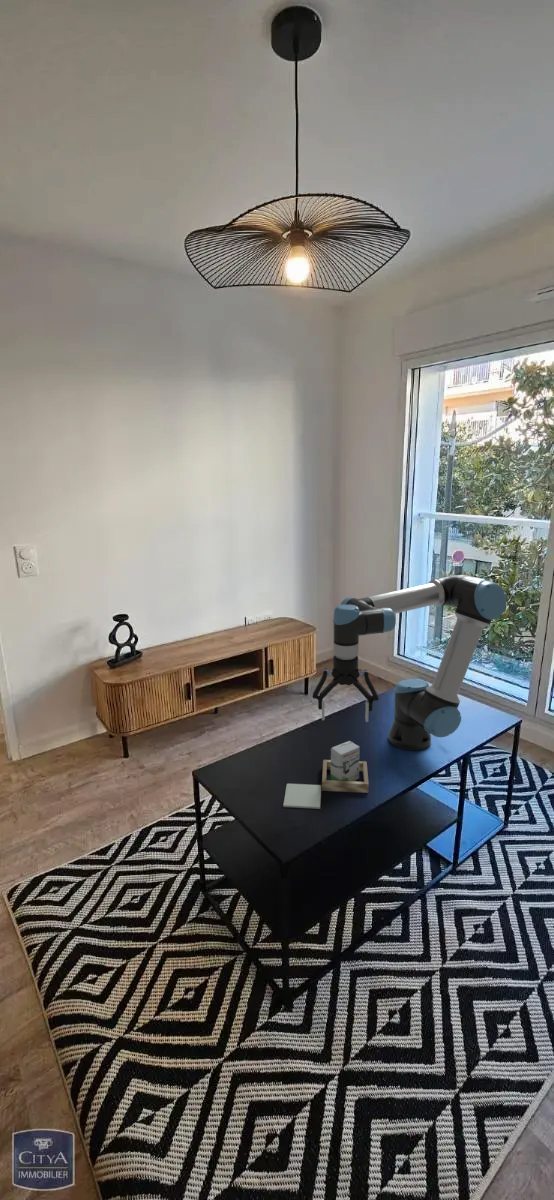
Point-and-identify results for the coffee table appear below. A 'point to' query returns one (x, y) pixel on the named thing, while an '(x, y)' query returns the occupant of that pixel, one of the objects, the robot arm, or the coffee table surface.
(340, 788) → the pocket
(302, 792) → the tile
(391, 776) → the coffee table surface
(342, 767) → the ink box
